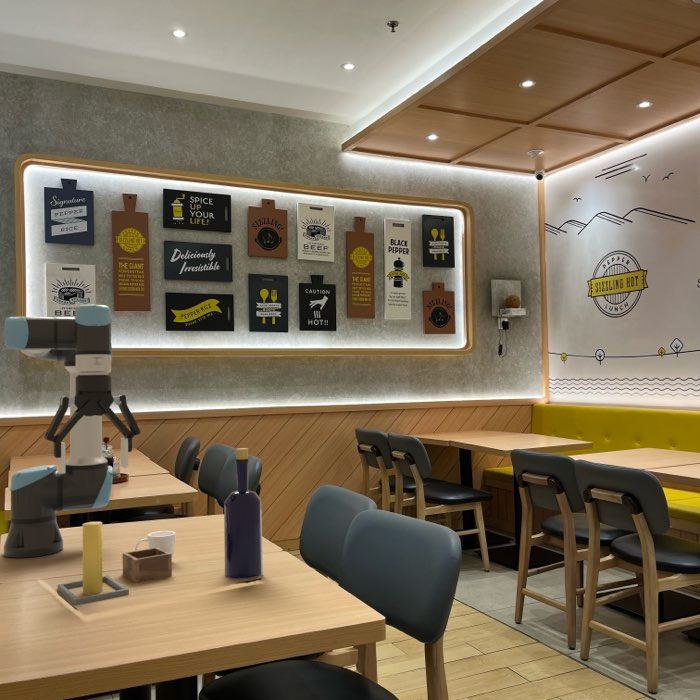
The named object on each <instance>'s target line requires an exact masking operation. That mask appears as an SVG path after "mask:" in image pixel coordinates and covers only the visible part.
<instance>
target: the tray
mask: <svg viewBox="0 0 700 700" xmlns="http://www.w3.org/2000/svg"><path fill="white" fill-rule="evenodd" d="M102 583H106V584H108V585H110V586H112V587H113V588H114V589H116V590H112V591H107V592H100V593H97V594H91V595H86V596H81V597H78V596H77V595H75V594H74V593H73V592H72V591H71V590H70V589H72V588H77V587H79V588H80V587H83V579H82V580H77V581H71V582H66V583H65V582H64V583H59V584H57V586H56V587H57V590H58V591H59V592H60V593H59V592H57V595H58V596H59V597H61V598H62V599H63V600H64V601H65V602H66V603H68V605H69V606H71V607H72V608H73V609H74V610H78V608H77V607H75V606H76V605H81V604H86V603H90V602H91V603H93V602H96V601H97V602H98V601H102V600H107V599H111V598H112V599H113V598H116V597H122V596H126V595H129V594H130V589H129V588H127V587H126V586H125V585H124V584H122V583H120V582H119V581H117V580H115V579H114V578H112V577H111V576H109V575H105V576H104V575H102ZM65 597H66V598H67V599H68V600H67V599H66V598H65ZM69 601H70V602H69ZM71 602H72V603H73V604H74V605H75V606H74V605H73V604H72V603H71Z"/></svg>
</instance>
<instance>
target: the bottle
mask: <svg viewBox="0 0 700 700" xmlns="http://www.w3.org/2000/svg"><path fill="white" fill-rule="evenodd" d="M235 457H236V458H235V460H234V462H235V464H236V465H235V466H236V467H235V468H236V489H237V490H235V491H232V492H231V493H230V494H229V495H228V496H227V498H226V499H225V501H223V510H224V511H223V515H224V516H223V518H224V519H223V521H224V523H223V525H224V526H223V527H224V528H223V529H224V534H223V535H224V537H223V538H224V576H225V577H227V578H231V579H249V580H245V581H240V582H238V584H240V583H242V584H243V583H244V584H246V583H247V584H248V583H253V582H256V581H257V582H258V581H261V580H262V577H264V574H263V573H264V571H263V567H264V566H263V565H264V564H263V528H262V527H263V523H262V522H263V518H262V514H263V513H262V511H263V510H262V498H261V497H260V496H259V495H258V494H257V492H255V491H252V490H249V463H250V458H249V447H243V448H241V447H239V448H236V449H235ZM258 576H261V577H260V578H254V577H258ZM250 578H254V579H250Z"/></svg>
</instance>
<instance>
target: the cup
mask: <svg viewBox="0 0 700 700" xmlns="http://www.w3.org/2000/svg"><path fill="white" fill-rule="evenodd" d="M176 536H177V532H175V531H172V530H159V531H153V532H150V533H148V534H147V538H142V539H140V540H138V542H136V545H135V549H134V551H138V550H137V549H138V547H139V545H140V543H141V542H147V543H148V547H149V548H148V549H150V548H156V547H158V548H160V549H163V550H165V551H167V552H169V553H171V554H172V557H173V555H174V550H175V544H176Z"/></svg>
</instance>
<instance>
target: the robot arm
mask: <svg viewBox="0 0 700 700" xmlns="http://www.w3.org/2000/svg"><path fill="white" fill-rule="evenodd" d="M111 313H112V312H111V307H109V306H108V305H104V304H80V305H77V307H75V317H70V316H69V317H63V316H62V317H60V316H58V317H56V316H54V317H51V316H50V317H49V316H46V317H45V316H24V315H23V316H22V315H21V316H10V317H6V318H5V320H4V345H5V348H6V349H8V350H17V351H20V352H21V353H23V354H25V355H26V356H28V357H32V358H34V359H39V360H43V361H53V362H54V361H55V362H59V361H60V362H63V365H64V366H63V367H64V368H65V370H66V371H68V373H69V393H70V394H69V397H68V396H61V397H60V399H59V407H58V408H57V410H56V413H55V414H54V416H53V418H52V420H51V422H50V424H49V426H48V429H47V430H46V432H45V434H44V436H43V437H44V439H45V441H50V442H52V443H53V457H54V458H56V459H58V467H57V465H55V464H47V465H46V464H45V465H38V466H34V467H29V468H25V469H21V470H18V471H15V472H14V473H13V474H12V476H11V479H10V489H9V492H10V527H9V530H8V533H7V536H6V538H5V539H6V540H5V542H4V544H3V556H4V557H7V558H13V559H14V558H16V559H17V558H20V559H21V558H22V559H24V558H33V557H42V556H47V555H52V554H55V553H58V552H60V551H62V550H63V549H64V540H63V536H62V533H61V531H60V527H59V525H58V522H57V512H66V511H75V510H77V511H78V510H92V509H98V508H103V507H106V506H107V505H108V503H109V502H110V499H111V494H112V490H113V489H112V488H113V487H112V486H113V480H114V479H113V478H114V477H113V474H114V468H113V467H112V465H109V464H108V459H107V458H105V456H103V418H102V417H103V416H105V417H106V418H107V419H108V420H109V421H110V422H111V423H112V424H113V426H114V427H115V428H116V429H117V430H118V431H119V432H120V433H121V434H122V435H123V436H124V437H120V467H122V468H129V453H130V452H131V453H132V450H133V438H134V437H135V436H138V435H140V434H141V430H140V428H139V425H138V424H137V422H136V420H135V417H134V416H133V413H132V412H131V411H130V408H129V406H128V402H127V396H126V395H125V394H119V395H116V396H114V395H113V394H112V376H111V375H110V374H109V373H111V372H112V360H113V347H112V322H113V320H112V315H111ZM113 403H114V404H115V405H117V406H118V408H119V410H120V412H121V415H122V416H123V418H124V420H125V422H126V424H127V426H128V427H127V426H126V425H125V424H124V423H123V422H122V421H121V419H120V418H119V417H118V416H117V414H116V413H115V412H114V411H113V410H112V408H111V406H112V404H113ZM68 408H69V416H70V417H69V419H68V420H67V421H66V422H65V424H64V425H63V426H62V427H61V428H60V430H59V427H60V425H61V423H62V421H63V419H64V417H65V416H66V413H67V412H68ZM57 430H59V431H57ZM68 434H69V437H70V439H69V440H70V441H69V445H70V446H69V447H70V448H69V453H70V455H69V457H68V458H67V460H66V442H63V440H64V439H65V438H66V436H67V435H68Z"/></svg>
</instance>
